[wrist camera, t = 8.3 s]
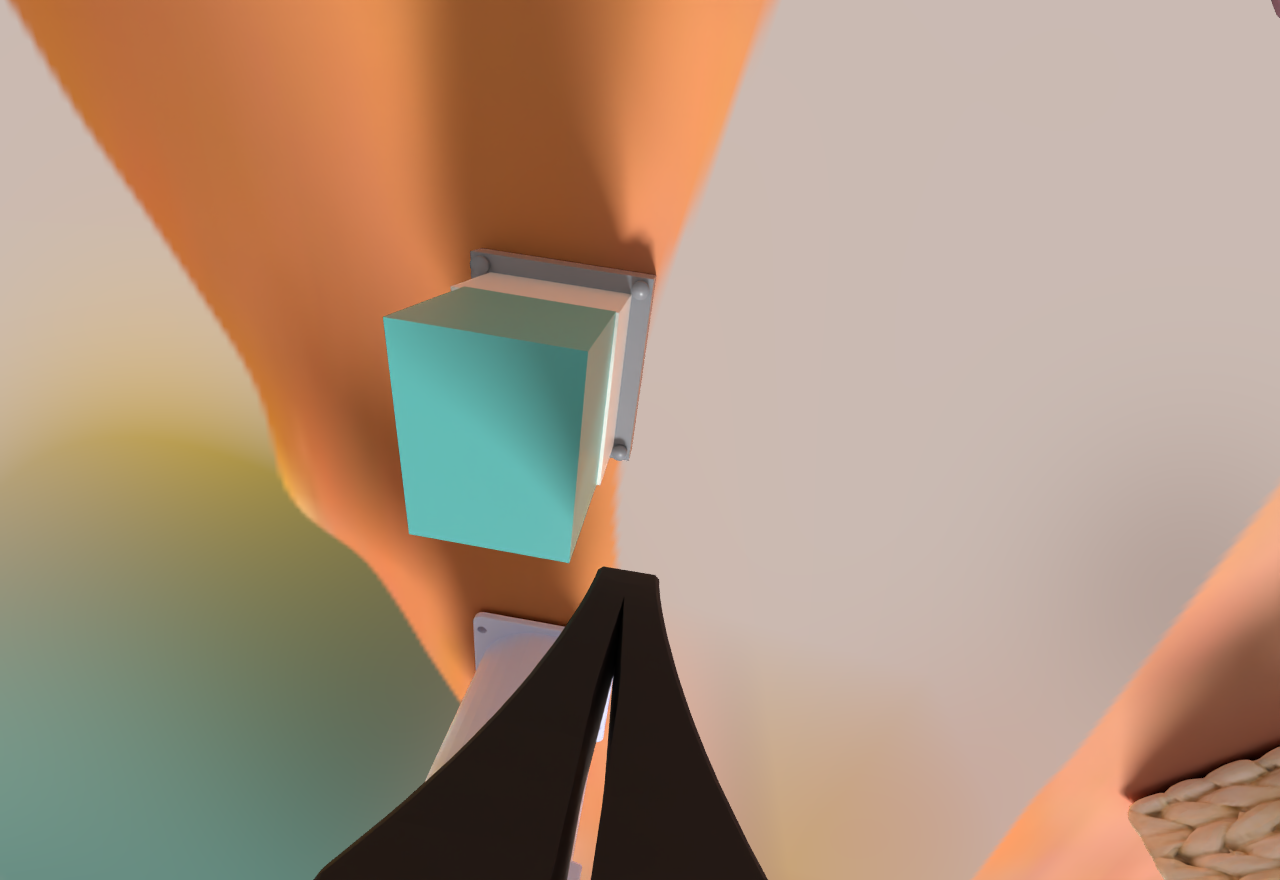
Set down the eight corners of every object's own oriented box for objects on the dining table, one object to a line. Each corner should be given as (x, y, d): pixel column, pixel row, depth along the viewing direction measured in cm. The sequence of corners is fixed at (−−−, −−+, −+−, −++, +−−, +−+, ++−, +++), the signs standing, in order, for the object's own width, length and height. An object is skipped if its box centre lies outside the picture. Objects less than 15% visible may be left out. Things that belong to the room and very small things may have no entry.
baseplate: (631, 449, 20) (627, 464, 19) (486, 424, 20) (474, 438, 19) (656, 275, 17) (653, 280, 16) (482, 248, 17) (466, 251, 16)
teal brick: (596, 483, 16) (569, 563, 13) (470, 461, 16) (409, 534, 13) (616, 311, 13) (587, 351, 10) (464, 286, 14) (383, 317, 10)
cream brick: (613, 445, 19) (600, 485, 16) (493, 425, 19) (460, 461, 16) (631, 294, 16) (619, 312, 13) (490, 272, 16) (450, 286, 14)
